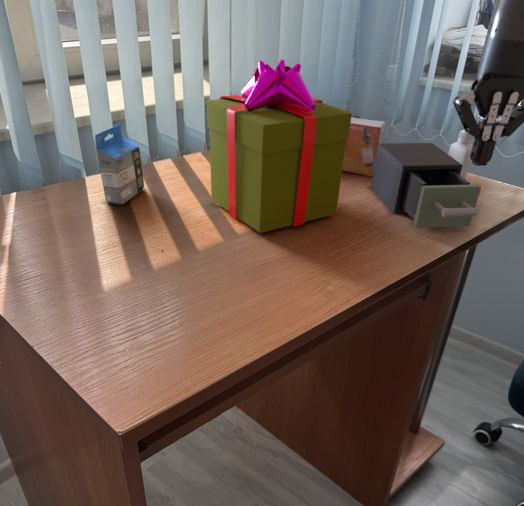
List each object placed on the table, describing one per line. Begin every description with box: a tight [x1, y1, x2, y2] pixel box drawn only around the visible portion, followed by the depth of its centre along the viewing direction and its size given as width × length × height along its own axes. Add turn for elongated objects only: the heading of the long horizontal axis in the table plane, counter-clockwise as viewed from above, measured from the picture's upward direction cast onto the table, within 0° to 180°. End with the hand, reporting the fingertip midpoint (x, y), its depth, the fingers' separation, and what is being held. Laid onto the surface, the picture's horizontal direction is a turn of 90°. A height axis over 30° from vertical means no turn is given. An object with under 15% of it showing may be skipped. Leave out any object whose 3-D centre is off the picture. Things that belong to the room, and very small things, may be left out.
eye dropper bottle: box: [447, 128, 473, 180], centre depth 111 cm, size 4×6×12 cm
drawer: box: [399, 169, 482, 229], centre depth 94 cm, size 17×10×7 cm, turn 9°
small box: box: [342, 117, 386, 177], centre depth 115 cm, size 8×6×10 cm
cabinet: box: [370, 142, 463, 215], centre depth 103 cm, size 14×12×9 cm
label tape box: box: [94, 123, 146, 205], centre depth 98 cm, size 9×4×12 cm, turn 162°
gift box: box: [206, 59, 353, 234], centre depth 91 cm, size 21×21×25 cm
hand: (478, 164), depth 81 cm, fingers closed
